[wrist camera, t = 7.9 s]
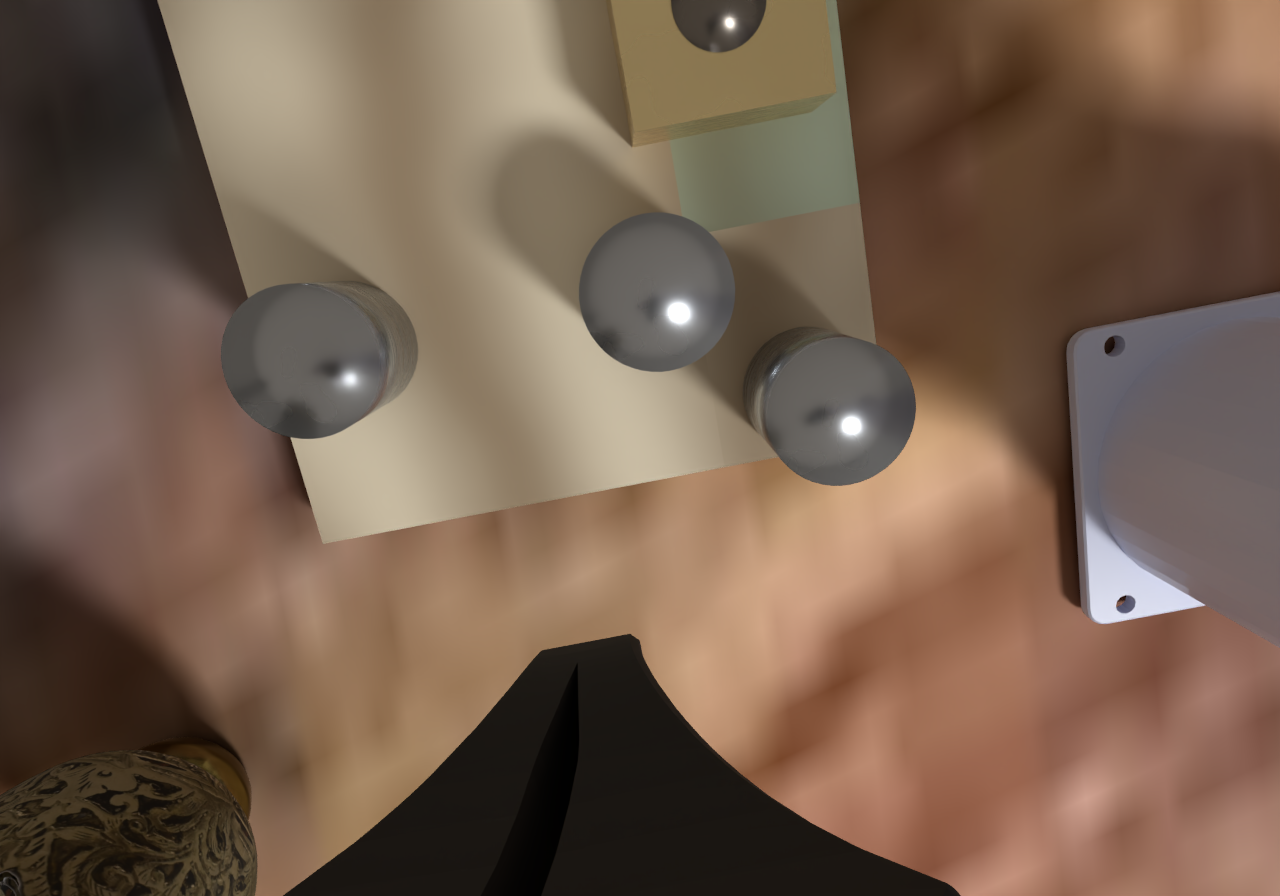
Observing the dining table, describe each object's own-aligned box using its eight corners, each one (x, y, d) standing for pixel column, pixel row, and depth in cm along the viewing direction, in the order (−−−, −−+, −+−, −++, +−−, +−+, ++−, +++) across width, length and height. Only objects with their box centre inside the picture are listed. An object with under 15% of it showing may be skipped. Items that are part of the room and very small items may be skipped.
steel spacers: (780, -352, 15) (820, -503, 12) (874, 438, 19) (922, 470, 16) (118, -215, 15) (-2, -332, 12) (342, 540, 19) (292, 590, 16)
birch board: (760, -488, 15) (772, -549, 14) (870, 426, 20) (886, 436, 19) (80, -346, 16) (37, -396, 14) (340, 527, 20) (323, 543, 19)
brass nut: (785, -92, 16) (809, -143, 14) (811, 112, 17) (837, 91, 15) (596, -54, 16) (593, -99, 14) (632, 147, 17) (634, 132, 15)
